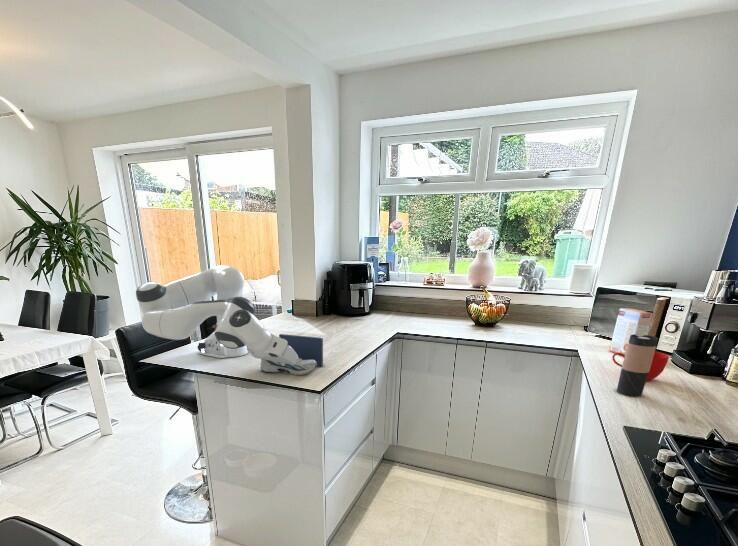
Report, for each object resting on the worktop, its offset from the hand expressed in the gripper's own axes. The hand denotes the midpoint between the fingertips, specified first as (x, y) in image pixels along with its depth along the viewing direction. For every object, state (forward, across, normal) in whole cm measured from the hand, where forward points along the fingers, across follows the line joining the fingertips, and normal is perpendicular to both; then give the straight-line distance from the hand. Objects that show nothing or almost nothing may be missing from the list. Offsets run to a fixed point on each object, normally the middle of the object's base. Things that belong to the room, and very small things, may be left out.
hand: (281, 364), depth 152 cm
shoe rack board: (+16, -4, +9) cm, 19 cm away
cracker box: (+81, +116, +73) cm, 160 cm away
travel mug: (+38, +114, +31) cm, 124 cm away
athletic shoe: (+8, -2, +1) cm, 8 cm away
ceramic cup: (+54, +117, +46) cm, 137 cm away
